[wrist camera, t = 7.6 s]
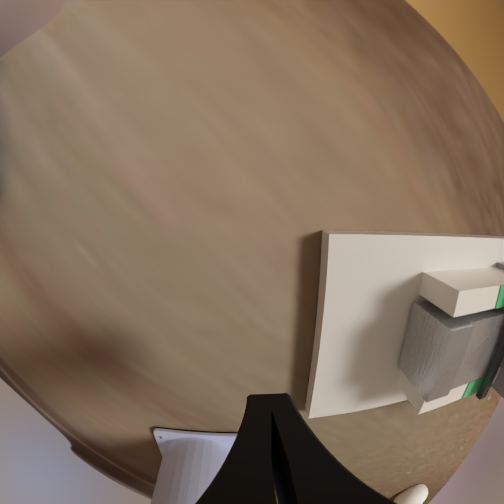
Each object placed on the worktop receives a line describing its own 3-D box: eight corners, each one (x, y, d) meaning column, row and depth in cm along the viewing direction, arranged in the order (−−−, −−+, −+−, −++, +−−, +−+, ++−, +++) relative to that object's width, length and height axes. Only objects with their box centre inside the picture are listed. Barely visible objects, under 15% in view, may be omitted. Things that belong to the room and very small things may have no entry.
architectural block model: (509, 236, 17) (582, 259, 8) (477, 365, 20) (527, 411, 11) (322, 230, 17) (404, 275, 7) (305, 405, 20) (330, 501, 10)
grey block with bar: (488, 268, 16) (528, 285, 11) (461, 367, 18) (489, 394, 13) (418, 273, 16) (463, 297, 11) (391, 386, 18) (417, 425, 13)
